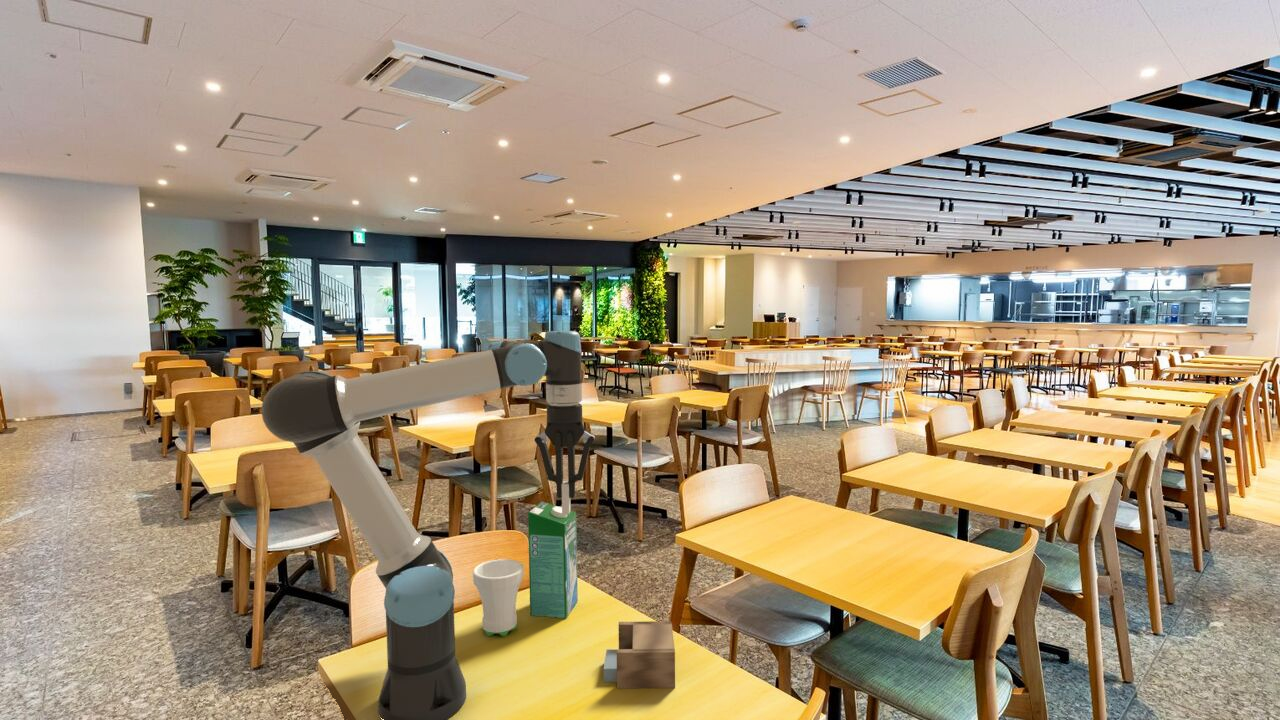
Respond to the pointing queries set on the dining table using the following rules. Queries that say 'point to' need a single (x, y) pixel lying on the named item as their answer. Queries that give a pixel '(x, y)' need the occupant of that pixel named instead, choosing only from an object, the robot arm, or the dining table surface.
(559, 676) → the dining table surface
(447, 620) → the robot arm
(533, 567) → the milk carton
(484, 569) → the cup
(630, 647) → the brown notched block
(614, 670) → the slab
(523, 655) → the dining table surface
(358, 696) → the dining table surface
